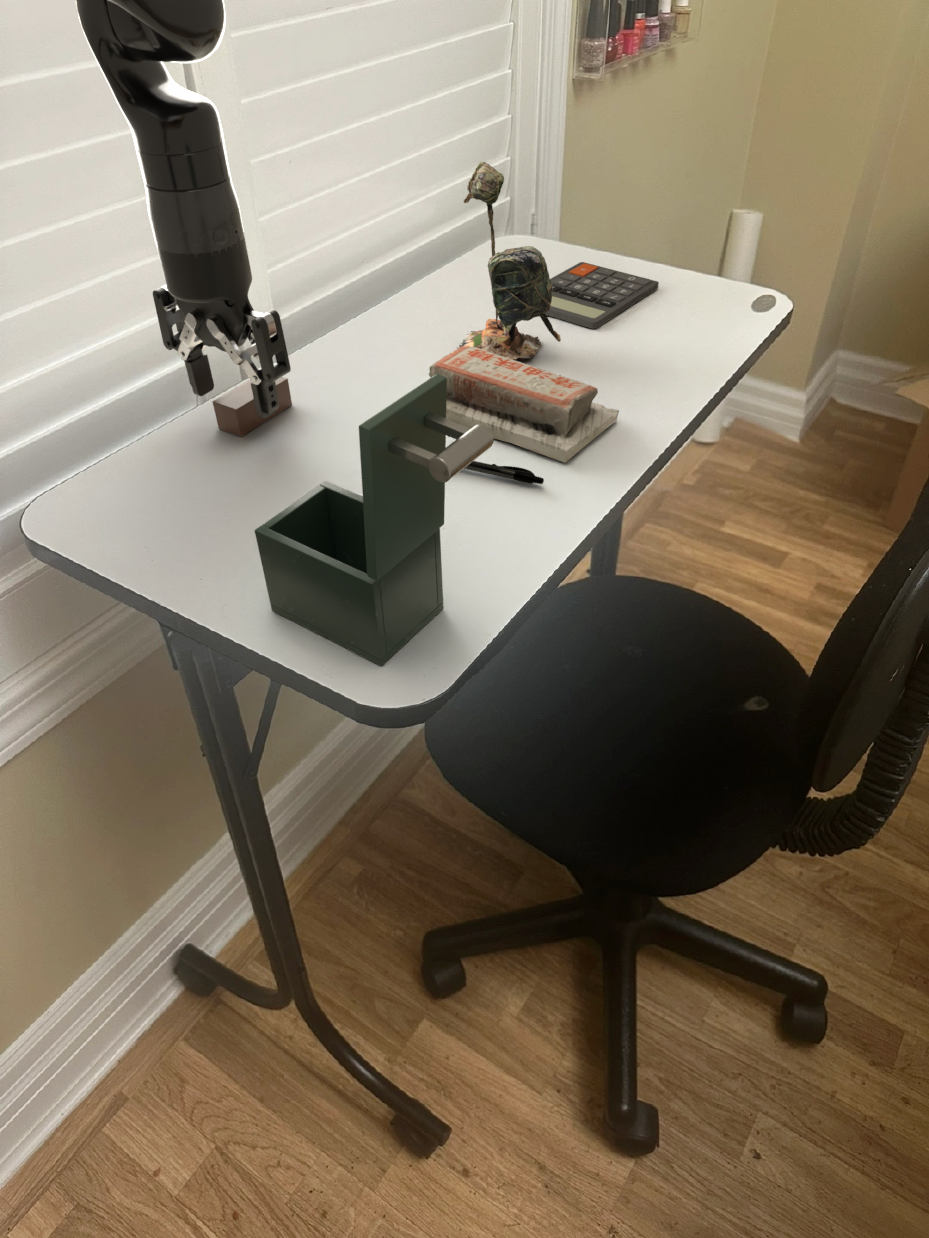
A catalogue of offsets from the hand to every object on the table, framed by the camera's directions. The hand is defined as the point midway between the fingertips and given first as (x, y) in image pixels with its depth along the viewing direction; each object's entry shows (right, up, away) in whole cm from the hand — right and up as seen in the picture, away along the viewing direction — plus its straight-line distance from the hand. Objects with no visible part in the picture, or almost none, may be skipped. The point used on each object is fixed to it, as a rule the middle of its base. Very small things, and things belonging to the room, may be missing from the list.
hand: (235, 403), depth 89 cm
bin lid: (+18, -12, -31) cm, 38 cm away
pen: (+23, -7, -5) cm, 25 cm away
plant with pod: (+27, +9, +13) cm, 32 cm away
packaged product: (+28, -1, +2) cm, 28 cm away
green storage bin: (+14, -20, -19) cm, 32 cm away
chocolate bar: (+1, -1, +3) cm, 3 cm away
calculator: (+38, +19, +24) cm, 48 cm away
